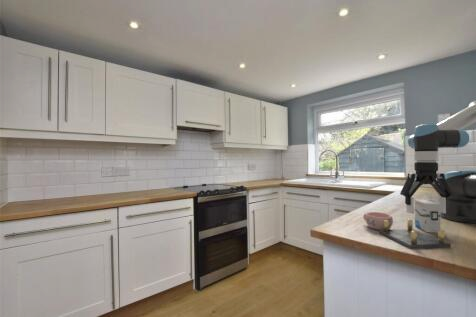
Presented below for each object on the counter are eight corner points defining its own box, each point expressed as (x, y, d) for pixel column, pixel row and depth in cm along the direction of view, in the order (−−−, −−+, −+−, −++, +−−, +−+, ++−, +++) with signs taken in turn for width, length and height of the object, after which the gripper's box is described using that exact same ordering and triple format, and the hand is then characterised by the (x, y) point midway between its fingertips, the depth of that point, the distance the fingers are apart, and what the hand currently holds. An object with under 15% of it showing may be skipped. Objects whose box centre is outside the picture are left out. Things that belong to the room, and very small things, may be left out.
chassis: (413, 232, 88) (413, 219, 88) (450, 247, 73) (450, 231, 73) (379, 233, 88) (379, 220, 88) (410, 248, 73) (409, 232, 73)
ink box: (414, 226, 96) (413, 192, 96) (427, 226, 95) (426, 192, 95) (427, 232, 88) (426, 195, 88) (441, 233, 87) (440, 195, 87)
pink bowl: (398, 230, 91) (398, 216, 91) (382, 233, 87) (382, 218, 87) (371, 222, 102) (370, 210, 102) (356, 225, 98) (355, 212, 98)
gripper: (446, 161, 96) (446, 210, 96) (390, 161, 95) (390, 210, 95) (464, 161, 88) (464, 214, 88) (404, 161, 87) (404, 215, 87)
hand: (425, 212), depth 92 cm, fingers open, 13 cm apart
